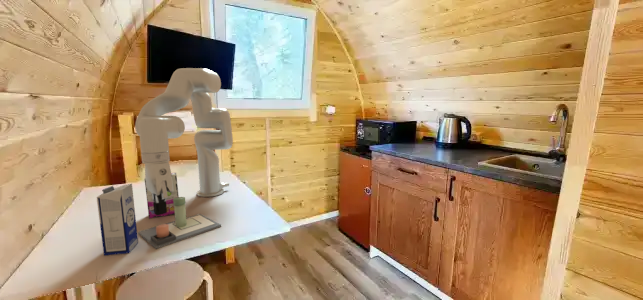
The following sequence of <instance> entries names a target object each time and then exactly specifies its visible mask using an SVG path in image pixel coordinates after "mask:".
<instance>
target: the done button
mask: <svg viewBox="0 0 643 300" xmlns="http://www.w3.org/2000/svg"><path fill="white" fill-rule="evenodd" d="M155 227H156V226H155ZM156 234H157V237H159V238H162V237H166V236H168V235H169V225H168V224H167V223H161V224H159V225H158V224H157V227H156Z"/></svg>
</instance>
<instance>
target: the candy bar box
mask: <svg viewBox="0 0 643 300" xmlns="http://www.w3.org/2000/svg"><path fill="white" fill-rule="evenodd" d="M171 175H172V182H173V192H172V193H170V192H168V191H167V195H168V198H167V199H166V207H167V213H165V214H161V215H156V214H154V205H153V198H152V193H151V192H150V191H148V190H147V187H146V179H145V178H144V185H145V193H146V203H147V212H148V219H155V218H161V217H167V216H172V215H173V216H175V210H174V201H173V199H174V198H177V197H180V195H179V188H178V187H179V185H178V178H177V177H178V175H177V172H171Z"/></svg>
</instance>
